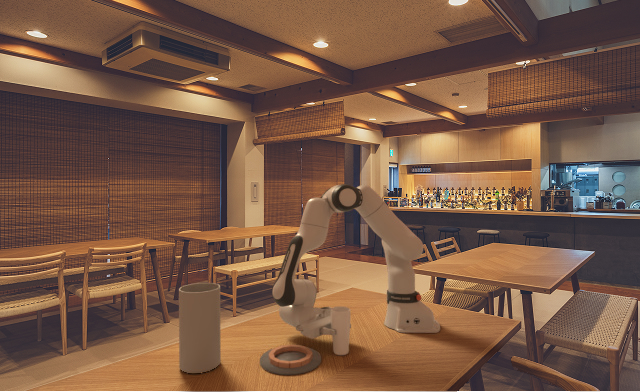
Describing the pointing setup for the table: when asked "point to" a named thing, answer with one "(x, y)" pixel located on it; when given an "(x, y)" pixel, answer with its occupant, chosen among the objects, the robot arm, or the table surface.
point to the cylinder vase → (199, 327)
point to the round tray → (290, 360)
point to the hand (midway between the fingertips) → (342, 329)
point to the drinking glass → (340, 329)
